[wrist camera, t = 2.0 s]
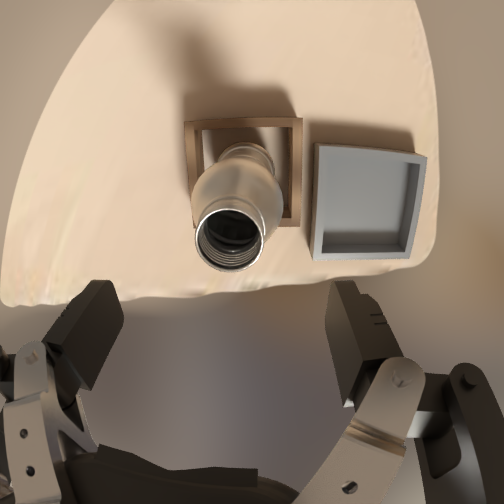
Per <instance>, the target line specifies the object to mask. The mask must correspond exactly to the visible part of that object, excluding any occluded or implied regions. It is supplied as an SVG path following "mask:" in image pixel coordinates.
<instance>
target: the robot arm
mask: <svg viewBox="0 0 504 504" xmlns="http://www.w3.org/2000/svg"><path fill="white" fill-rule="evenodd" d="M123 322H124V315H123V311H122V308H121V305H120V303H119V300H118V297H117V294H116V291H115V288H114V285H113V283H112V282H111V281H110V280H92V281H91V282H90V283H89V284H88V285H87V286H86V288H85V289H84V290H83V291H82V292H81V293H80V294H79V295H77V296H76V297H75V298H73V299H72V300H71V302H70V303H69V304H68V305H67V307H66V310H64V311H63V312H62V313H61V316H60V317H58V319H57V320H56V321H55V323H54V324H53V326H52V327H51V328H50V330H49V331H48V332H47V334H46V335H45V337H44V338H43V340H42V341H41V342H40V341H31V342H28V343H26V344H25V345H23V346H22V347H21V348H20V349H19V351H18V352H17V354H9V355H7V354H6V353H5V351H4V350H3V348H2V347H1V345H0V393H1V394H2V395H3V396H4V397H5V398H6V402H5V404H4V406H3V409H2V411H1V413H0V504H380V503H381V502H382V500H383V498H384V496H385V495H386V493H387V491H388V489H389V487H390V485H391V483H392V482H393V480H394V478H395V476H396V474H397V472H398V470H399V467H400V465H401V463H402V461H403V458H404V456H405V453H406V446H404V442H405V439H406V437H414V441H415V446H416V450H417V455H418V460H419V465H420V470H421V475H422V481H423V487H424V493H425V500H426V504H504V417H503V415H502V412H501V410H500V407H499V405H498V403H497V400H496V398H495V396H494V394H493V391H492V389H491V387H490V385H489V383H488V381H487V379H486V377H485V375H484V373H483V372H482V371H481V370H480V369H479V368H478V367H477V366H475V365H473V364H470V363H460V364H458V365H456V366H455V367H454V368H453V369H452V371H451V373H450V374H449V375H446V374H432V373H425V372H424V371H423V369H422V368H421V367H420V365H419V364H418V363H416V362H415V361H413V360H411V359H409V358H406V357H404V356H403V353H402V351H401V349H400V347H399V345H398V343H397V341H396V338H395V336H394V334H393V332H392V330H391V328H390V326H389V324H387V320H386V318H385V316H384V315H383V312H382V310H381V308H380V306H379V304H378V303H377V302H376V301H375V300H374V299H373V298H372V297H370V296H369V295H368V294H360V292H359V290H358V288H357V286H356V284H355V282H354V281H353V280H347V281H332V282H331V285H330V292H329V297H328V303H327V309H326V315H325V330H326V335H327V339H328V343H329V347H330V351H331V355H332V359H333V363H334V368H335V372H336V376H337V381H338V385H339V389H340V394H341V399H342V404H343V407H349V406H354V408H355V412H356V414H355V415H354V417H353V419H352V421H351V423H350V424H349V425H348V427H347V429H346V430H345V432H344V433H343V435H342V437H341V438H340V440H339V441H338V443H337V444H336V446H335V447H334V449H333V451H332V452H331V453H330V455H329V456H328V458H327V459H326V460H325V462H324V463H323V465H322V466H321V467H320V469H319V470H318V471H317V473H316V474H315V476H314V477H313V478H312V480H311V481H310V482H309V483H308V485H307V486H306V487H305V488H304V489H303V491H302V492H301V493H299V492H297V491H296V490H294V489H293V488H290V487H289V486H287V485H285V484H283V483H280V482H278V481H275V480H271V479H269V478H265V477H261V476H258V469H247V468H246V469H245V468H224V467H208V468H199V469H188V470H174V471H173V470H167V469H164V468H162V467H160V466H157V465H155V464H153V463H151V462H149V461H147V460H145V459H143V458H140V457H138V456H137V455H135V454H133V453H129V452H126V451H122V450H118V449H115V448H111V447H108V446H105V445H102V444H99V447H97V445H96V444H95V442H94V440H93V439H92V436H91V434H90V430H89V427H88V424H87V421H86V417H85V414H84V410H83V406H82V403H81V398H80V396H79V394H78V393H77V392H78V390H79V388H82V389H86V390H90V391H91V390H92V388H93V386H94V383H95V381H96V379H97V377H98V375H99V373H100V371H101V368H102V366H103V364H104V362H105V360H106V358H107V356H108V354H109V352H110V350H111V348H112V346H113V344H114V342H115V340H116V338H117V336H118V334H119V332H120V330H121V329H122V327H123ZM11 481H12V486H13V488H12V487H10V483H11Z"/></svg>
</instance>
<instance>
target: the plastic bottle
mask: <svg viewBox="0 0 504 504" xmlns="http://www.w3.org/2000/svg"><path fill="white" fill-rule="evenodd" d="M274 175H275V168H274V163H273V160H272V158H271V156H270V155H269V153H268V152H267V151H266V150H265V149H264V148H262V147H261V146H259V145H257V144H255V143H251V142H240V143H236V144H233V145H231V146H229V147H228V148H227V149H225V150H224V152H223V153H222V154H221V155H220V157H219V159H218V162H217V163H215V164H214V165H212V166H211V167H209V168H208V169H207V170H206V171H204V173H203V174H202V175H201V176H200V177H199V179H198V181H197V182H196V184H195V186H194V189H193V192H192V198H191V209H192V216H193V220H194V223H195V225H196V230H195V245H196V249H197V251H198V253H199V255H200V257H201V258H202V259H203V260H204V262H206V263H207V264H208V265H209V266H211V267H212V268H214V269H216V270H219V271H223V272H238V271H242V270H244V269H247V268H248V267H250V266H252V265H253V264H254V263H255V262H256V261H257V259H258V258H259V257H260V255H261V252H262V250H263V246H264V243H265V242H266V241H267V240H268V239H269V238H270V237H271V236H272V234H273V233H274V231H275V230H276V229H277V227H278V225H279V223H280V221H281V218H282V213H283V196H282V191H281V189H280V186H279V184H278V182H277V181H276V179H275V178H274Z"/></svg>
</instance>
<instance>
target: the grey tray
mask: <svg viewBox="0 0 504 504" xmlns="http://www.w3.org/2000/svg"><path fill="white" fill-rule="evenodd" d="M426 165H427V157H425V156H423V155H420V154H417V153H412V152H406V151H399V150H391V149H383V148H374V147H365V146H354V145H341V144H324V143H314V168H313V194H312V213H311V229H310V244H309V251H310V254H311V257H312V260H313V261H325V260H374V259H409V258H410V254H411V250H412V245H413V241H414V237H415V232H416V227H417V223H418V217H419V212H420V207H421V201H422V195H423V188H424V181H425V173H426Z"/></svg>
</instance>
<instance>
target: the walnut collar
mask: <svg viewBox="0 0 504 504" xmlns="http://www.w3.org/2000/svg"><path fill="white" fill-rule="evenodd" d="M239 127H289V178H288V207H283V213H282V218H281V221H280V223H279V225H278V227H300V217H301V191H302V138H303V118H293V117H250V118H227V119H212V120H200V121H190V122H184V129H185V144H186V157H187V168H188V179H189V190H190V199H191V198H192V192H193V189H194V186H195V184H196V182H197V181H198V179H199V177H200V176H201V175H202V174H203V173H204V158H203V142H202V130H205V129H220V128H239ZM192 218H193V216H192ZM193 226H194V228H196V225H195V223H194V220H193Z"/></svg>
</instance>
